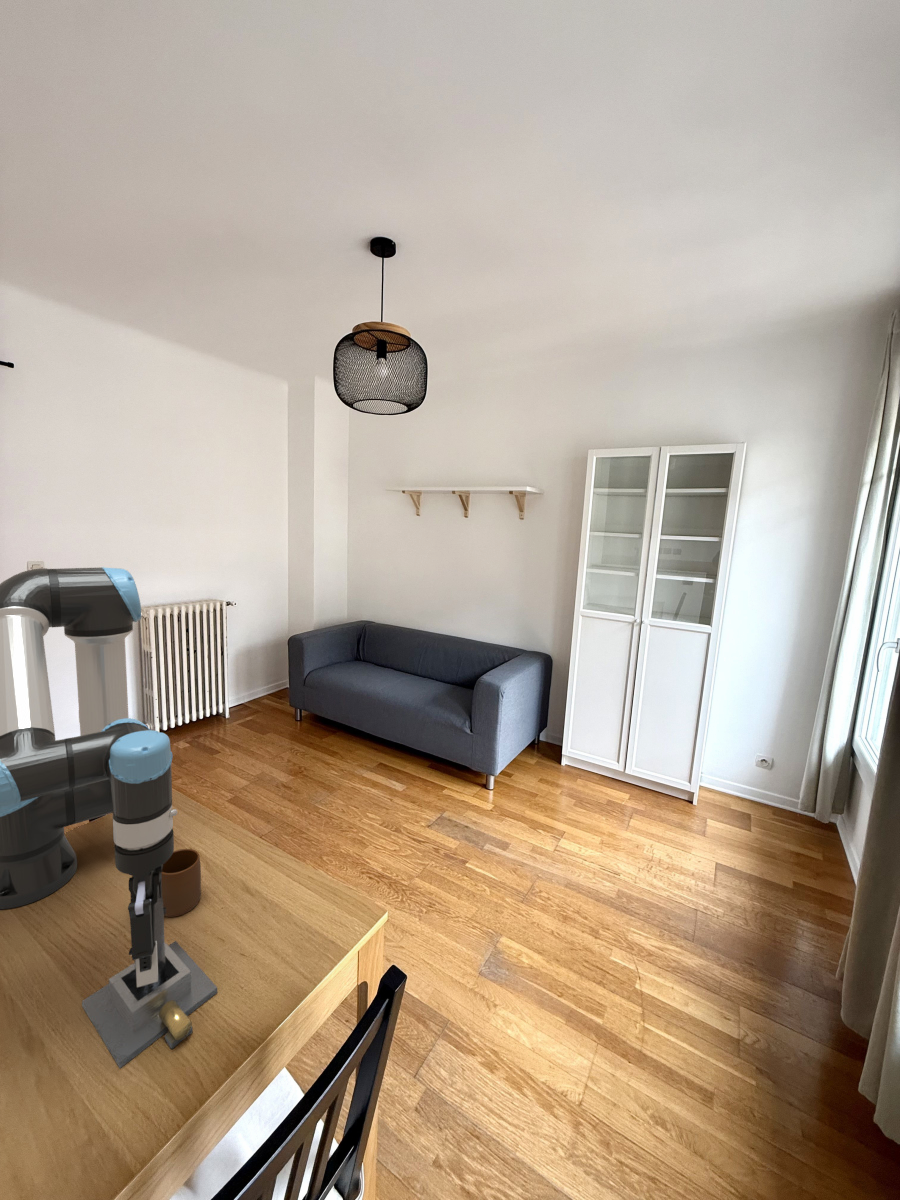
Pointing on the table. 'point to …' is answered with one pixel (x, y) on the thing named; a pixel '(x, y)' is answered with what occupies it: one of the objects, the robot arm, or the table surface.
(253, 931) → the table surface
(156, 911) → the dark cylinder
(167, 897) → the mug
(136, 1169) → the table surface
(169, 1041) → the open box on baseplate
